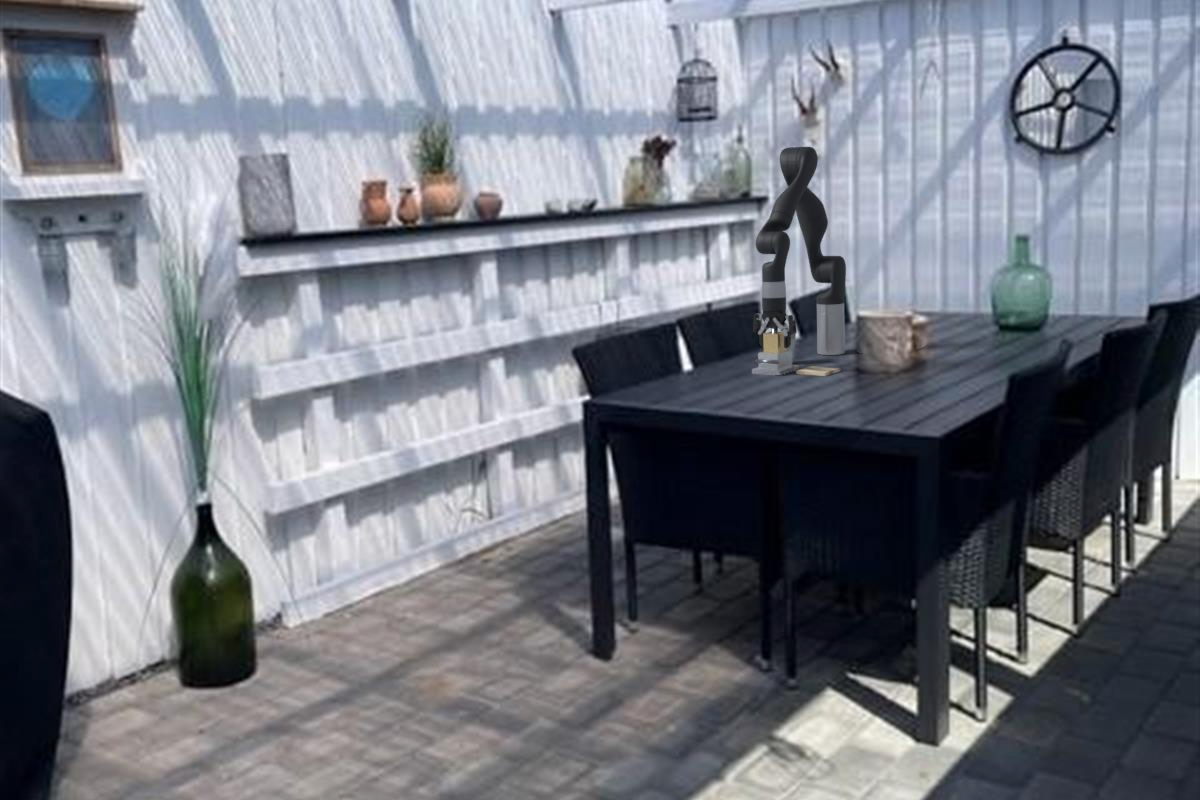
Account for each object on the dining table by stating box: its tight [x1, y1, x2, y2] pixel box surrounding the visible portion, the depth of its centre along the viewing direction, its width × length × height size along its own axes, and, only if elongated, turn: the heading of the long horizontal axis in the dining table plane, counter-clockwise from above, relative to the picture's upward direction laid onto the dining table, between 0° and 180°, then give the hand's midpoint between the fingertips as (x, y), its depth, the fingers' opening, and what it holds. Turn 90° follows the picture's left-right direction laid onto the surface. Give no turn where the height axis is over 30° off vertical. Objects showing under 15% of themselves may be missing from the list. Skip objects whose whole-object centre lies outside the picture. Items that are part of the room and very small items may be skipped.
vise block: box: [751, 328, 800, 376], centre depth 405 cm, size 12×10×14 cm
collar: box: [763, 331, 786, 353], centre depth 404 cm, size 5×5×6 cm
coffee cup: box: [778, 325, 798, 364], centre depth 421 cm, size 9×9×12 cm
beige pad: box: [795, 365, 841, 377], centre depth 401 cm, size 10×10×1 cm
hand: (774, 347), depth 405 cm, fingers open, 8 cm apart
